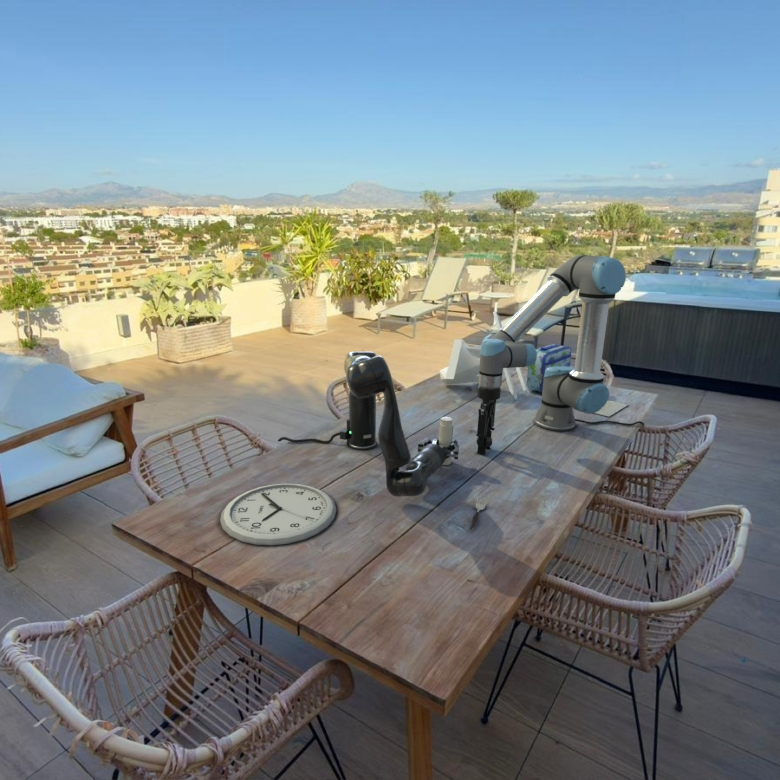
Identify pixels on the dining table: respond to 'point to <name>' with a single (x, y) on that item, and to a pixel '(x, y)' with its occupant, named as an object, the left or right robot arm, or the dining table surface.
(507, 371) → the white plastic object
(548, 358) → the lunch box
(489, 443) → the lid
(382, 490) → the dining table surface
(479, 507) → the fork
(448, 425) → the jar
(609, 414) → the invitation card
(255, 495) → the wall clock
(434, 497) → the dining table surface
